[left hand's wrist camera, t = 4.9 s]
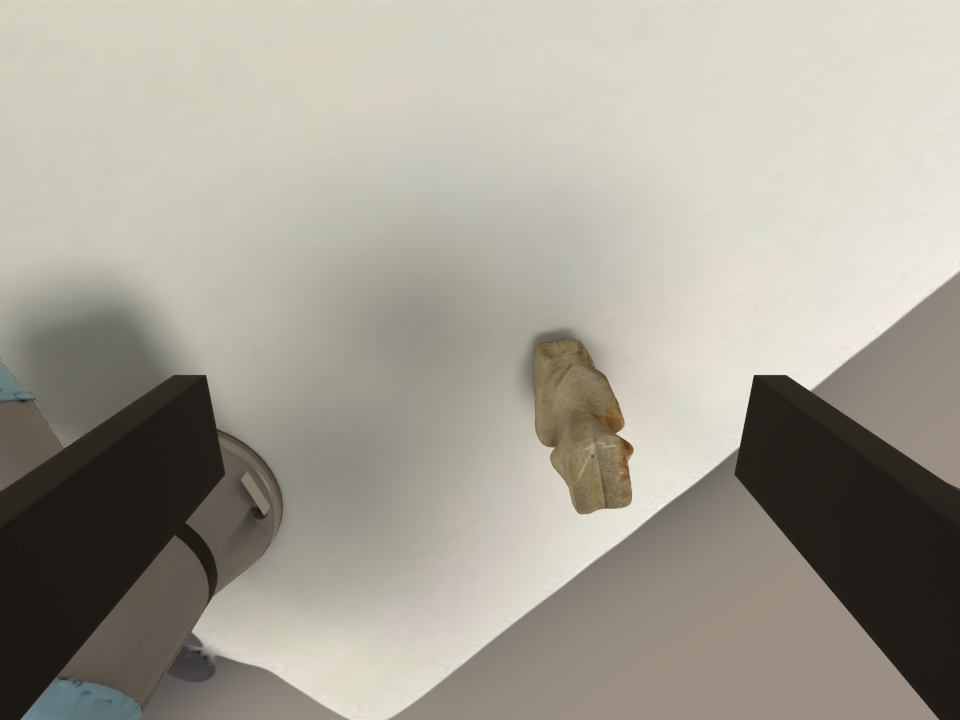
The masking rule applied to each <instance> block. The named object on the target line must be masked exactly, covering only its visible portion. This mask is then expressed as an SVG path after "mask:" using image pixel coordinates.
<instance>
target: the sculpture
mask: <svg viewBox="0 0 960 720" xmlns="http://www.w3.org/2000/svg"><path fill="white" fill-rule="evenodd" d="M533 382H534V392H535V429H536V433H537V436H538V438H539V440H540V441H541V443H542V444H543V445H545V446H547V447H556V448H555V449H554V450H553V451H552V453H551V455H550V460H551V463H552V465H553V467H554V468H555V469H556V471H557V472H558V473H559V474H560V475H561V477H562V478H563V479H564V481H565V482H566V484H567V485H568V487H569V491H570V495H571V500H572V503H573V505H574V508H575V509H576V511H577V512H578V513H579V514H590V513H592V512H594V511H596V510H599V509H616V508H623V507H627V506H628V505H630V504H631V501H632V489H631V481H630V475H629V467H628V460H629V458H630V457H631V455H632V454H633V447H632V445H631V444H630V443H629V442H627V441H626V440H624V439H623V438H621V437H620V436H618V435H617V434H616V433H617V432H618V431H620V430H621V429H622V428H623V427H624V418H623V416H622V413H621V410H620V407H619V403H618V401H617V399H616V398H615V396H614V394H613V391H612V389H611V387H610V385H609V382H608V380H607V378H606V376H605V375H604V374H603V373H601V372H600V371H598V370H597V369H595V366H594V364H593V361H592V359H591V357H590V355H589V354H588V352H587V350H586V349H585V347H584V346H583V344H582V343H581V342H580V341H579V340H575V339H566V340H562V341H557V342H552V343H543V344H539V345H536V346H535V360H534V368H533Z"/></svg>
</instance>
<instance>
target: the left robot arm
mask: <svg viewBox="0 0 960 720" xmlns="http://www.w3.org/2000/svg"><path fill="white" fill-rule="evenodd" d="M33 400H35V398H34V396H33V394H32V393H31V392H28V391H25V390H24V388H23V387H22V386H21V385H20V383H19V382H18V381H17V380H16V378H15V377H14V376H13V374H12V373H11V372H10V371H9V369H8V368H7V367H6V366H5V364H4V363H3V362H2V360H1V359H0V720H140V717H141V716H142V712H143V710H144V709H145V707H146V705H147V704H148V702H149V700H150V699H151V697H152V696H153V694H154V692H155V691H156V689H157V687H158V686H159V684H160V682H161V681H162V679H163V678H164V676H165V674H166V673H167V671H168V669H169V668H170V666H171V664H172V663H173V661H174V659H175V658H176V656H177V654H178V653H179V651H180V649H181V648H182V646H183V645H184V643H185V641H186V640H187V638H188V636H189V635H190V633H191V631H192V630H193V628H194V626H195V625H196V623H197V621H198V620H199V618H200V617H201V615H202V613H203V612H204V610H205V608H206V607H207V605H208V603H209V602H210V600H211V599H212V597H213V596H214V595H215V594H216V593H218V592H219V591H220V590H221V589H223V588H224V587H225V586H226V585H228V584H229V583H230V582H231V581H233V580H234V579H235V578H236V577H238V576H239V575H240V574H241V573H243V572H244V571H245V570H246V569H248V568H249V567H250V566H251V565H253V564H254V563H255V562H256V561H257V560H258V559H259V558H260V557H261V556H262V555H263V554H264V552H265V551H266V549H267V548H268V546H269V544H270V543H271V541H272V539H273V537H274V536H275V534H276V532H277V529H278V527H279V524H280V520H281V512H282V505H281V497H280V493H279V489H278V487H277V484H276V482H275V480H274V478H273V476H272V474H271V473H270V471H269V469H268V468H267V467H266V465H265V464H264V463H263V462H262V461H261V459H260V458H259V457H258V456H257V455H256V454H255V453H253V452H252V451H251V450H250V449H249V448H247V447H246V446H245V445H243V444H242V443H240V442H239V441H237V440H235V439H234V438H232V437H230V436H228V435H226V434H223V433H221V432H218V431H217V429H216V424H215V418H214V413H213V408H212V403H211V398H210V393H209V388H208V383H207V378H206V375H173V376H172V377H170V378H169V379H167V380H166V381H164V382H163V383H162V384H160V385H159V386H157V387H156V388H154V389H153V390H151V391H150V392H148V393H147V394H145V395H144V396H142V397H141V398H139V399H138V400H136V401H135V402H133V403H132V404H130V405H129V406H127V407H126V408H124V409H123V410H121V411H120V412H118V413H117V414H115V415H114V416H112V417H111V418H109V419H108V420H106V421H105V422H103V423H102V424H100V425H99V426H97V427H96V428H94V429H93V430H91V431H90V432H89V433H87V434H86V435H84V436H83V437H81V438H80V439H78V440H77V441H75V442H74V443H72V444H71V445H69V446H68V447H66V448H65V449H64V447H63V446H62V444H61V443H60V442H59V440H58V439H57V437H56V436H55V434H54V433H53V431H52V430H51V428H50V427H49V425H48V423H47V422H46V420H45V419H44V417H43V416H42V414H41V413H40V411H39V410H38V408H37V407H36V405H35V403H34V402H33ZM735 476H736V477H737V478H738V479H739V480H740V482H741V483H742V484H743V485H744V486H745V488H746V489H747V490H748V491H749V492H750V494H751V495H752V496H753V497H754V498H755V500H756V501H757V502H758V503H759V504H760V506H761V507H762V508H763V509H764V510H765V512H766V513H767V514H768V515H769V516H770V518H771V519H772V520H773V521H774V522H775V524H776V525H777V526H778V527H779V528H780V529H781V531H782V532H783V533H784V534H785V535H786V537H787V538H788V539H789V540H790V541H791V543H792V544H793V545H794V546H795V547H796V549H797V550H798V551H799V552H800V553H801V555H802V556H803V557H804V558H805V559H806V561H807V562H808V563H809V564H810V565H811V567H812V568H813V569H814V570H815V571H816V573H817V574H818V575H819V576H820V577H821V579H822V580H823V581H824V582H825V583H826V585H827V586H828V587H829V588H830V589H831V591H832V592H833V593H834V594H835V595H836V597H837V598H838V599H839V600H840V601H841V602H842V604H843V605H844V606H845V607H846V609H847V610H848V611H849V612H850V613H851V614H852V616H853V617H854V618H855V619H856V620H857V622H858V623H859V624H860V625H861V626H862V628H863V629H864V630H865V631H866V632H867V634H868V635H869V636H870V637H871V638H872V640H873V641H874V642H875V643H876V644H877V646H878V647H879V648H880V649H881V650H882V652H883V653H884V654H885V655H886V656H887V658H888V659H889V660H890V661H891V662H892V664H893V665H894V666H895V667H896V668H897V670H898V671H899V672H900V673H901V674H902V675H903V677H904V678H905V679H906V680H907V682H908V683H909V684H910V685H911V686H912V688H913V689H914V690H915V691H916V692H917V694H918V695H919V696H920V697H921V698H922V699H923V701H924V702H925V703H926V704H927V705H928V707H929V708H930V709H931V710H932V711H933V713H934V714H935V715H936V716H937V717H938V719H939V720H960V489H959V488H957V487H955V486H953V485H950V484H948V483H946V482H944V481H943V480H942V479H940V478H939V477H937V476H936V475H934V474H933V473H931V472H930V471H928V470H927V469H925V468H924V467H922V466H921V465H919V464H918V463H916V462H915V461H913V460H912V459H910V458H909V457H907V456H906V455H904V454H903V453H901V452H900V451H898V450H897V449H895V448H894V447H892V446H891V445H889V444H888V443H886V442H885V441H883V440H882V439H880V438H879V437H877V436H876V435H874V434H873V433H871V432H870V431H869V430H867V429H866V428H864V427H863V426H861V425H860V424H858V423H857V422H855V421H854V420H852V419H851V418H849V417H848V416H846V415H845V414H843V413H842V412H840V411H839V410H837V409H836V408H834V407H833V406H831V405H830V404H828V403H827V402H825V401H824V400H822V399H821V398H819V397H818V396H816V395H815V394H813V393H812V392H810V391H809V390H807V389H806V388H804V387H803V386H801V385H800V384H798V383H797V382H796V381H794V380H793V379H791V378H790V377H788V376H787V375H754V378H753V383H752V388H751V393H750V398H749V403H748V408H747V413H746V418H745V424H744V429H743V434H742V439H741V444H740V449H739V454H738V459H737V464H736V469H735Z"/></svg>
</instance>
